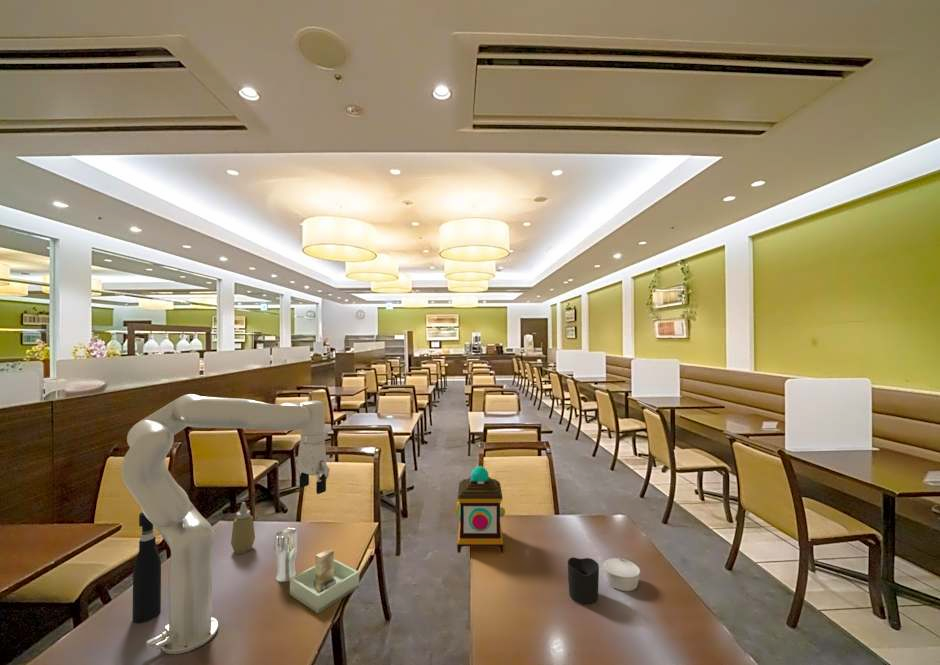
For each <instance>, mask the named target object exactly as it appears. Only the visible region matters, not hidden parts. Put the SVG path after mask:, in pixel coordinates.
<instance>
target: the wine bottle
mask: <svg viewBox="0 0 940 665" xmlns="http://www.w3.org/2000/svg"><path fill="white" fill-rule="evenodd" d="M138 519H139V520H138V526H139V527H141V533H140V538H139V541H138V545H139V546H138V552H137V555H136V558H135V560H134V565H133V569H132V623H134V624H143V623H144V624H145V623H147V622H150V621H152V620H154V619H155V618H157V617H158V616H159V615H160V613H161V611H162V610H161V609H162V606H161V605H162V560H161V555H160V552H159V550H158V549H157V545H156V543H157V542H156V540H157V539H156V538H157V537H156V533H155V530H154V525H153V524H152V523H151V522H150V521H149V520H148V519H147V518H146V516H145V515H144V513H143V512H142V511H141V512H140V513H139V515H138Z"/></svg>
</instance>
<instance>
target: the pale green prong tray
mask: <svg viewBox="0 0 940 665" xmlns="http://www.w3.org/2000/svg"><path fill="white" fill-rule="evenodd" d="M315 579H316V564H315V565H314V566H311V567H310V568H307V569H306V570H305V569H304V571H302V572H300V573H298V574H296V576H294V577H292V578H290V580H289V595H290V596H291V597H293V598H294V599H295V600H297V601H299V602H300V603H302V604H303V605H305V606H307V607H308V609H309V608H310V609H311V610H312V611H314V612H316V614H319V613H321V612H322V611H324V610H326V609H327V608H329V607H331V606H333V604H335V603H336V602H338V601H340V600H341V599H343V598H344V597H346V596H348V595H349V594H351V593H353V592H354V591H356V590H358V589H359V588H360V571H358V570H357V569H354V568H352V567H351V566H348V565H346V564H345V563H343V562H340V561H339V560H337V559H335V558H334V579H335V580H336V584H335V585H333V586H331V587H329V588H328V589H326V590H324V591H322V592H321V593H319V592H318V591H316V589H315V588H314V580H315Z"/></svg>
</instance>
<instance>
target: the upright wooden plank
mask: <svg viewBox="0 0 940 665" xmlns="http://www.w3.org/2000/svg"><path fill="white" fill-rule="evenodd" d="M334 559H335V551H334V550H333V549H331V548H328V549H326V550H323V551H322V552H319V553H317V554H315V565H316V591H318V592H319V593H321V592H322V591H323V584H325V583H327V582H329V581H330V580H332V579H334Z"/></svg>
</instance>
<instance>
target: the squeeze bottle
mask: <svg viewBox="0 0 940 665" xmlns="http://www.w3.org/2000/svg"><path fill="white" fill-rule="evenodd" d="M235 515H236V516H235V517H236V518H234V520H233V524H232V531H231V540H230V544H231V547H232V550H233V552H234V553H235V554H244V553H247V552H250V550H252V548H253V545H254V543H255V541H256V540H255V539H256V534H255V532H256V531H255V523H254V517H253V515H251V510H250V509H247V504H246V502H245V501H243V502H241V504H240V509H239V511H237V512H236V514H235Z"/></svg>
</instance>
